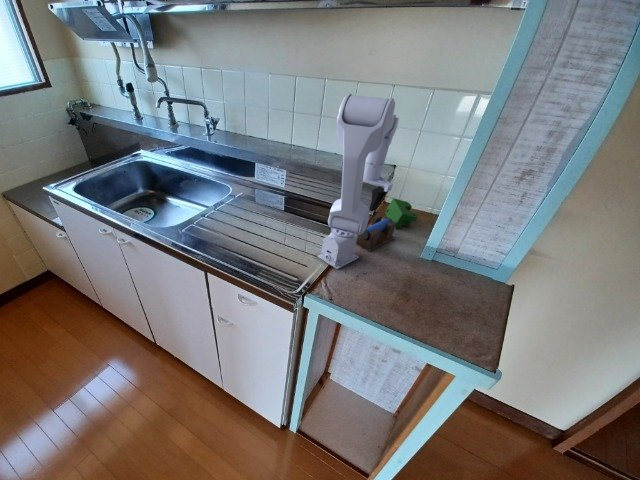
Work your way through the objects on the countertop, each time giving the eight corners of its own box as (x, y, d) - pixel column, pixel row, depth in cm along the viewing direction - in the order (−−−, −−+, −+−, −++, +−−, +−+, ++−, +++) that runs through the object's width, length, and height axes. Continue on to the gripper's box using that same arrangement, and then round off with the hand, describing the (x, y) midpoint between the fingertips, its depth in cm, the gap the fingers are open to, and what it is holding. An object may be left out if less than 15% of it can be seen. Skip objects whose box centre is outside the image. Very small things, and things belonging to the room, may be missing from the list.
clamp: (401, 238, 112) (419, 222, 104) (386, 234, 111) (402, 218, 103) (400, 210, 117) (417, 193, 108) (385, 206, 116) (401, 189, 108)
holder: (369, 251, 99) (374, 234, 95) (351, 241, 103) (356, 224, 99) (391, 239, 104) (397, 222, 100) (373, 230, 108) (378, 214, 104)
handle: (364, 241, 99) (369, 234, 96) (358, 234, 100) (363, 227, 97) (389, 228, 104) (394, 222, 101) (382, 222, 105) (388, 215, 102)
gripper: (404, 165, 89) (390, 210, 98) (362, 151, 98) (352, 193, 107) (388, 171, 86) (375, 217, 96) (346, 156, 95) (338, 199, 104)
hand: (362, 205), depth 101 cm, fingers open, 7 cm apart
